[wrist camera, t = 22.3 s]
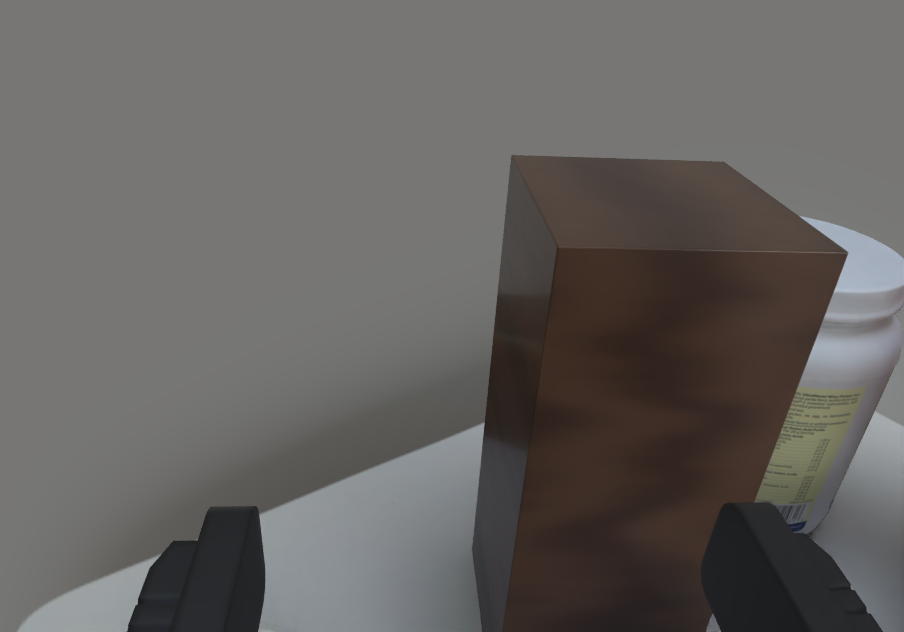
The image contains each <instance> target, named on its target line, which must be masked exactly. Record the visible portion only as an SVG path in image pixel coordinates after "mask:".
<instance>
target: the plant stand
mask: <svg viewBox="0 0 904 632" xmlns="http://www.w3.org/2000/svg"><path fill="white" fill-rule="evenodd" d="M847 256H848V251H846V250H845V249H844V248H842V247H841V246H839V245H838V244H837V243H835V242H834V241H833V240H831V239H830V238H828V237H827V236H826V235H824V234H823V233H821V232H820V231H819V230H817V229H816V228H815V227H813V226H812V225H810V224H809V223H808V222H806V221H805V220H804V219H802V218H801V217H799V216H798V215H797V214H795V213H794V212H792V211H791V210H790V209H788V208H787V207H785V206H784V205H783V204H781V203H780V202H779V201H777V200H776V199H775V198H773V197H772V196H770V195H769V194H767V193H766V192H765V191H763V190H762V189H761V188H759V187H758V186H757V185H755V184H754V183H752V182H751V181H750V180H748V179H747V178H746V177H744V176H743V175H741V174H740V173H739V172H737V171H736V170H734V169H733V168H732V167H730V166H729V165H728V164H726V163H725V162H711V161H709V162H708V161H679V160H648V159H616V158H584V157H553V156H551V157H550V156H521V155H520V156H518V155H512V157H511V165H510V175H509V185H508V195H507V205H506V215H505V225H504V235H503V245H502V255H501V266H500V276H499V285H498V296H497V306H496V316H495V326H494V336H493V346H492V356H491V366H490V377H489V386H488V397H487V407H486V416H485V427H484V437H483V447H482V457H481V467H480V477H479V487H478V497H477V507H476V517H475V527H474V537H473V547H472V551H473V559H474V567H475V575H476V583H477V591H478V599H479V607H480V615H481V623H482V631H483V632H705V631H706V629H707V626H708V623H709V621H710V618H711V615H712V613H713V612H712V610H711V608H710V606H709V603H708V601H707V599H706V596H705V594H704V590H703V586H702V580H701V564H702V560H703V557H704V554H705V551H706V548H707V545H708V543H709V540H710V537H711V534H712V531H713V529H714V526H715V523H716V520H717V517H718V515H719V512H720V509H721V507H722V506H723V505H724V504H725V503H744V502H755V499H756V496H757V494H758V491H759V488H760V486H761V483H762V481H763V478H764V475H765V473H766V470H767V467H768V465H769V462H770V459H771V457H772V454H773V452H774V449H775V446H776V444H777V441H778V438H779V436H780V433H781V430H782V428H783V425H784V422H785V420H786V417H787V415H788V412H789V409H790V407H791V404H792V401H793V399H794V396H795V393H796V391H797V388H798V385H799V383H800V380H801V378H802V375H803V372H804V370H805V367H806V364H807V362H808V359H809V356H810V354H811V351H812V348H813V346H814V343H815V341H816V338H817V335H818V333H819V330H820V327H821V325H822V322H823V319H824V317H825V314H826V311H827V309H828V306H829V304H830V301H831V298H832V296H833V293H834V290H835V288H836V285H837V282H838V280H839V277H840V274H841V272H842V269H843V267H844V264H845V261H846V259H847Z"/></svg>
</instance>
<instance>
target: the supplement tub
mask: <svg viewBox="0 0 904 632" xmlns="http://www.w3.org/2000/svg"><path fill="white" fill-rule="evenodd" d="M799 217H800V216H799ZM801 218H802V219H804V220H805V221H806V222H808V223H809V224H810V225H812V226H813V227H815V228H816V229H817V230H819V231H820V232H821V233H823V234H824V235H826V236H827V237H828V238H830V239H831V240H833V241H834V242H835V243H837V244H838V245H839V246H841V247H842V248H844V249H845V250H846V251H848V256H847V259H846V261H845V264H844V267H843V269H842V272H841V274H840V277H839V280H838V282H837V285H836V288H835V290H834V293H833V296H832V298H831V301H830V304H829V306H828V309H827V311H826V314H825V317H824V319H823V322H822V325H821V327H820V330H819V333H818V335H817V338H816V341H815V343H814V346H813V348H812V351H811V354H810V356H809V359H808V362H807V364H806V367H805V370H804V372H803V375H802V378H801V380H800V383H799V385H798V388H797V391H796V393H795V396H794V399H793V401H792V404H791V407H790V409H789V412H788V415H787V417H786V420H785V422H784V425H783V428H782V430H781V433H780V436H779V438H778V441H777V444H776V446H775V449H774V452H773V454H772V457H771V459H770V462H769V465H768V467H767V470H766V473H765V475H764V478H763V481H762V483H761V486H760V488H759V491H758V494H757V496H756V499H755V502H769V503H771V504H773V505H774V506H775V507H776V508H777V509H778V510H779V511H780V513H781V515H782V516H783V518H784V519H785V521H786V522H787V524H788V525H789V527H790V528H791V530H792V531H793V533H804V534H808V533H809V532H811V531H812V530H813V529H815V528H816V527H817V526H818V525H819V524H820V523H821V521H822V520H823V519H824V518H825V517H826V516H827V514H828V512H829V510H830V508H831V505H832V502H833V500H834V498H835V495H836V493H837V491H838V489H839V487H840V485H841V483H842V480H843V478H844V476H845V474H846V472H847V470H848V468H849V465H850V463H851V461H852V459H853V457H854V455H855V453H856V450H857V448H858V446H859V444H860V442H861V440H862V437H863V435H864V433H865V431H866V429H867V426H868V424H869V422H870V420H871V418H872V416H873V413H874V411H875V409H876V407H877V405H878V402H879V400H880V398H881V396H882V394H883V392H884V389H885V387H886V385H887V383H888V381H889V378H890V376H891V374H892V371H893V369H894V367H895V365H896V364H897V362H898V360H899V357H900V353H901V349H902V344H903V333H902V327H901V324H900V321H899V319H898V317H897V315H896V313H897V312H898V311H900V310H901V308H902V307H903V304H904V259H903V258H902V257H901V256H900V255H899V254H898V253H896V252H895V251H894V250H892V249H891V248H889V247H887V246H886V245H884V244H882V243H880V242H878V241H876V240H874V239H872V238H870V237H868V236H866V235H863V234H861V233H858V232H855V231H853V230H850V229H847V228H844V227H841V226H838V225H835V224H831V223H828V222H824V221H819V220H815V219H811V218H805V217H801Z"/></svg>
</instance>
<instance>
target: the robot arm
mask: <svg viewBox="0 0 904 632" xmlns="http://www.w3.org/2000/svg"><path fill="white" fill-rule="evenodd" d="M701 580H702V586H703V590H704V594H705V596H706V599H707V601H708V603H709V606H710V608H711V610H712V612H713V614H714V616H715V619H716V621H717V623H718V625H719V627H720V629H721V632H883V631H882V630H881V628H880V627H879V625H878V624H877V622H876V621H875V619H874V618H873V616H872V615H871V614H868V613H867V611H866V606H865V605H864V603H863V602H862V600H861V599H860V598H859V596H858V595H857V593H856V592H855V590H851V587H850V585H851V584H850V583H849V582H848V580H847V579H846V577H845V576H844V574H843V573H842V571H841V570H840V568H839V567H838V566H837V564H836V563H835V561H834V560H833V558H832V557H831V556H830V555H829V554H828V553H826V552H825V551H824V550H823V549H822V548H821V547H819V546H818V545H817V544H816V543H815V542H814V541H813V540H811V539H810V538H809V537H808V536H807V535H806V534H804V533H793V531H792V530H791V528H790V527H789V525H788V524H787V522H786V521H785V519H784V518H783V516H782V515H781V513H780V511H779V510H778V509H777V508H776V507H775V506H774V505H773V504H771V503H769V502H744V503H725V504H724V505H723V506H722V507H721V509H720V512H719V515H718V517H717V520H716V523H715V526H714V529H713V531H712V534H711V537H710V540H709V543H708V545H707V548H706V551H705V554H704V557H703V560H702V564H701ZM264 593H265V562H264V553H263V545H262V536H261V527H260V518H259V511H258V508H257V507H256V506H245V507H244V506H243V507H242V506H241V507H240V506H239V507H210V508H209V510H208V511H207V514H206V516H205V520H204V523H203V526H202V529H201V532H200V535H199V539H198V541H173V542H172V543H171V544H170V545H169V547H168V548H167V549H166V550H165V551H164V552H163V553H162V555H161V556H160V557H159V558H158V559H157V560H156V562H155V563H154V564H153V565H152V566H151V567H150V569H149V571H148V574H147V577H146V579H145V582H144V585H143V587H142V590H141V593H140V595H139V598H138V605H136V606H135V609H134V611H133V614H132V617H131V619H130V622H129V625H128V631H127V632H258V629H259V624H260V619H261V613H262V608H263V602H264Z"/></svg>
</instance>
